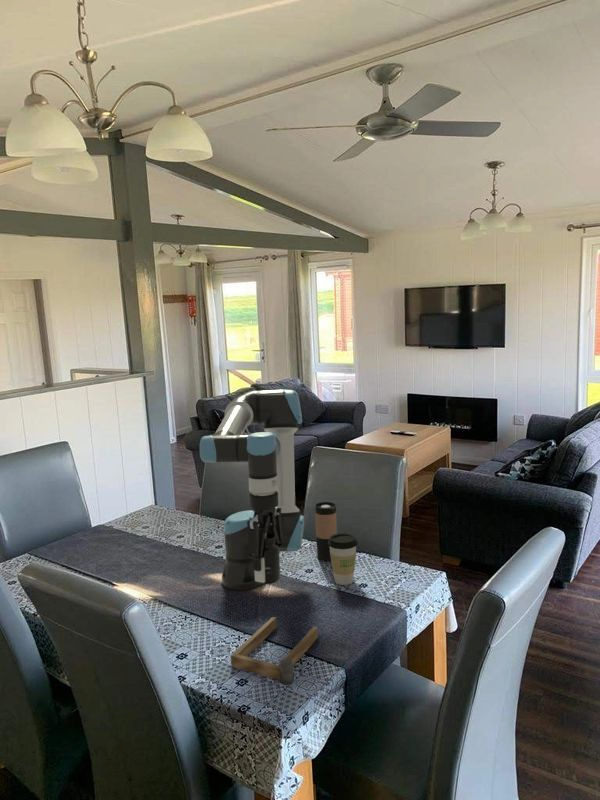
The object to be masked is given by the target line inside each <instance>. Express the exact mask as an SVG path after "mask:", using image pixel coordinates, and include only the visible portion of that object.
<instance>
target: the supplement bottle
mask: <svg viewBox="0 0 600 800" xmlns="http://www.w3.org/2000/svg"><path fill="white" fill-rule="evenodd" d="M275 543H276V540H275V535H274V534H271V533H265V539H264V547H263V555H262V557H263V558H264V563H265V582H264V583H262V582H258V583H261V584H263V585H271V584H275V583H277V582H278V581H279V580H280V578H281V562H280V561H281V560H280V559H281V558H280V552H279V547H278V546H277V545H276V544H275ZM254 575H255V571H254Z"/></svg>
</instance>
